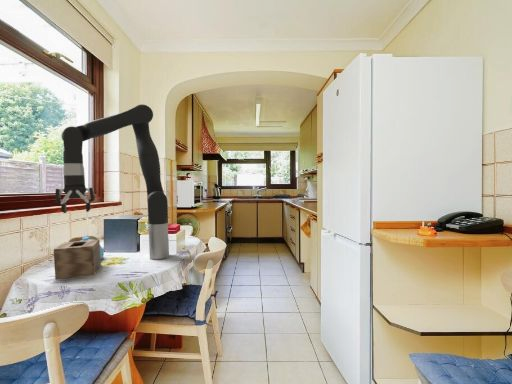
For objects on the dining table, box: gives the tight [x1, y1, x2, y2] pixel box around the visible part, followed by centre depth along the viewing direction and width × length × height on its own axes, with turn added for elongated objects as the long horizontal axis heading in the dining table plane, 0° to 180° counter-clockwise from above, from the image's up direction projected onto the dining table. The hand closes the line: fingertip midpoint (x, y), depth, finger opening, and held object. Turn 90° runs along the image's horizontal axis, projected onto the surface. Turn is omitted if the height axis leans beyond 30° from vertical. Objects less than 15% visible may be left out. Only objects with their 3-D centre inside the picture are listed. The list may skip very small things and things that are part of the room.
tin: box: [68, 235, 99, 242], centre depth 161 cm, size 15×3×8 cm, turn 114°
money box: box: [53, 239, 101, 279], centre depth 125 cm, size 14×14×12 cm
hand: (76, 212), depth 124 cm, fingers open, 8 cm apart
